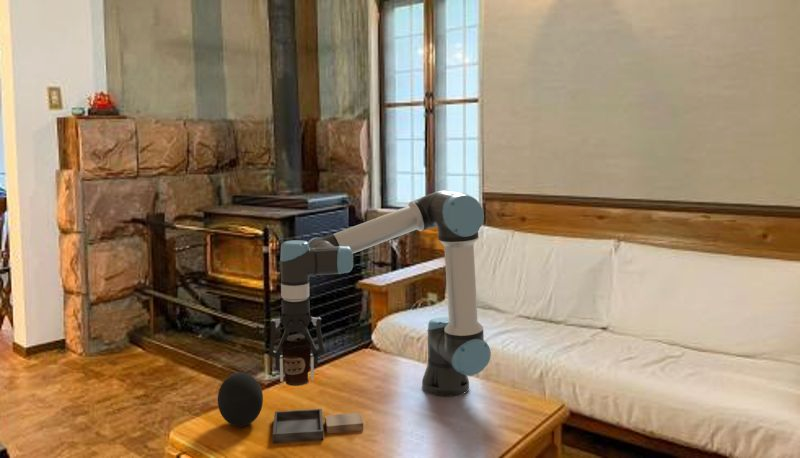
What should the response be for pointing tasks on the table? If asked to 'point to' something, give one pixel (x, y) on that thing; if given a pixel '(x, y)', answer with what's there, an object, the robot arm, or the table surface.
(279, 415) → the tray
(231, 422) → the decorative egg
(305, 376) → the coffee cup
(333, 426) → the beige rectangular box
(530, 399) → the table surface
